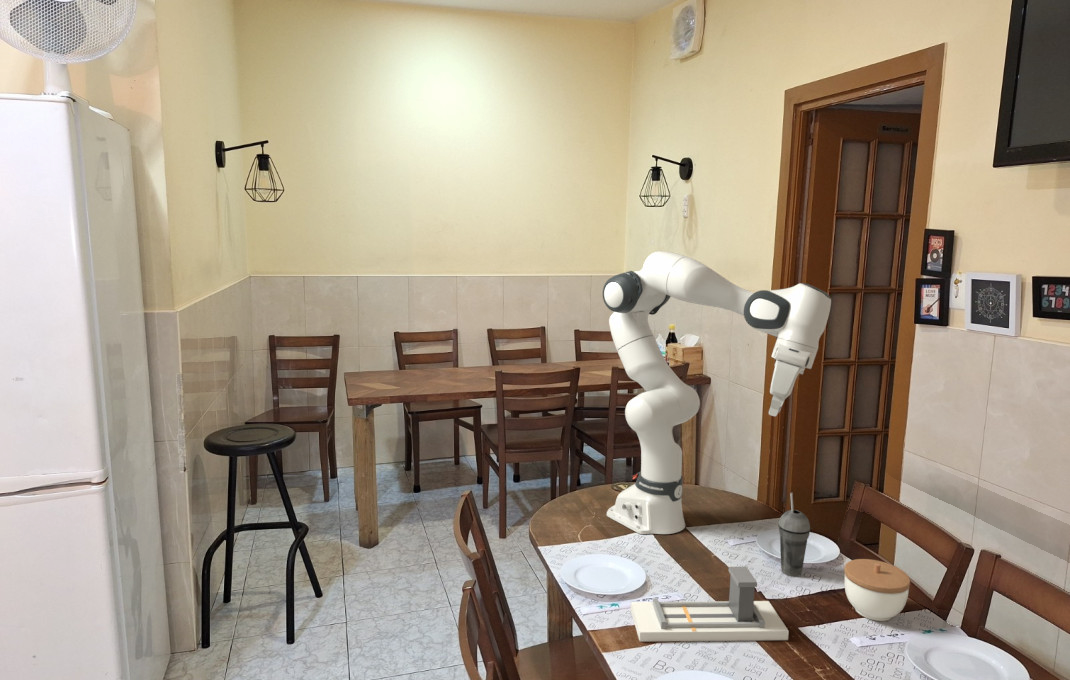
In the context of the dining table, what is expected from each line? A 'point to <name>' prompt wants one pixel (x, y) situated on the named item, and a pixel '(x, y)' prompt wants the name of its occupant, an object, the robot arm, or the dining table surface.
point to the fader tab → (741, 593)
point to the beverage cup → (793, 540)
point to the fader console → (704, 622)
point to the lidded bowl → (876, 588)
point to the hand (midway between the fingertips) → (773, 414)
